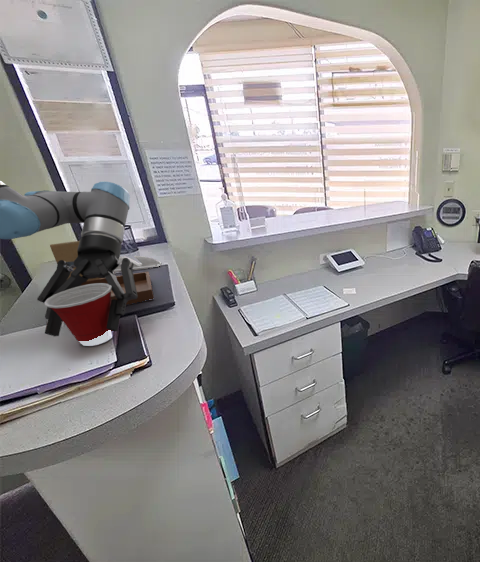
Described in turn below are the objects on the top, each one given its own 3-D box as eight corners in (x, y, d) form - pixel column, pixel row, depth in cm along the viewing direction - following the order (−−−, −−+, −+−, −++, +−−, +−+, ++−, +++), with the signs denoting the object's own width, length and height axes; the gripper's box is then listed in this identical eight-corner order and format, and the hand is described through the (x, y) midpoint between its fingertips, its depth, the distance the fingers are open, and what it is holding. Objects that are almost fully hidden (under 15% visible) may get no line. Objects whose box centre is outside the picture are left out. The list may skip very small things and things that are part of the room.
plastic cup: (63, 339, 70) (43, 290, 65) (123, 323, 77) (109, 278, 72) (63, 361, 63) (41, 308, 58) (129, 342, 69) (114, 293, 65)
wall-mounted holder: (156, 255, 112) (85, 262, 104) (159, 267, 114) (90, 274, 105) (158, 251, 118) (91, 256, 109) (161, 262, 119) (95, 269, 110)
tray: (72, 315, 80) (67, 304, 78) (79, 292, 93) (76, 282, 91) (154, 299, 89) (151, 289, 88) (150, 280, 102) (148, 271, 101)
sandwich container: (101, 271, 108) (87, 228, 102) (104, 285, 97) (89, 239, 91) (67, 276, 102) (50, 232, 96) (67, 292, 92) (49, 244, 86)
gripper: (162, 247, 80) (151, 331, 71) (56, 250, 74) (31, 341, 66) (148, 231, 73) (134, 322, 65) (31, 234, 68) (-1, 333, 59)
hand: (82, 332), depth 65 cm, fingers open, 10 cm apart
